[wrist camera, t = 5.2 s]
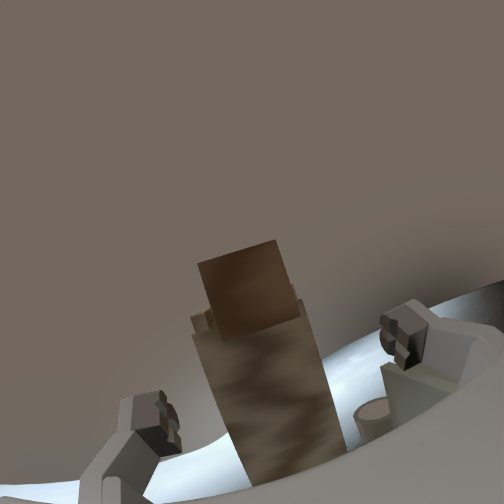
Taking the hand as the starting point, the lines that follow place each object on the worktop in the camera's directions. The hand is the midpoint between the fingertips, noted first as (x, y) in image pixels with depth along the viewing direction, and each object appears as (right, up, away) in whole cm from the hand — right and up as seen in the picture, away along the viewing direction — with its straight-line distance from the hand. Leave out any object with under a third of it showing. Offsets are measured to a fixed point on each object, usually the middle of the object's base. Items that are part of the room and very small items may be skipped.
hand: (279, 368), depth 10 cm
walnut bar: (-1, -1, +12) cm, 12 cm away
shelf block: (+6, -26, +14) cm, 30 cm away
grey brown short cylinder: (+18, -24, +23) cm, 38 cm away
